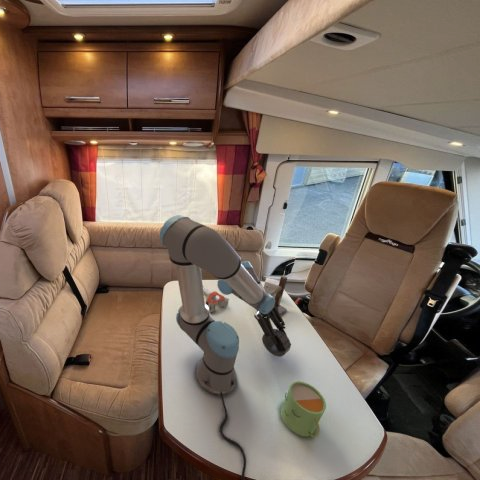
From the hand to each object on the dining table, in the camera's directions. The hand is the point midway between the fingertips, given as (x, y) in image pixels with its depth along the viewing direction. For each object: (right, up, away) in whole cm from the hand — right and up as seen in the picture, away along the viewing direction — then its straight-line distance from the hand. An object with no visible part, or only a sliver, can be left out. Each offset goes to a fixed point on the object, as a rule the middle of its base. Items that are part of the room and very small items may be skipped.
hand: (284, 347), depth 97 cm
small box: (+13, +11, +43) cm, 46 cm away
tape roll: (-2, -3, +5) cm, 6 cm away
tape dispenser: (-22, +12, +36) cm, 44 cm away
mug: (-5, -17, -19) cm, 26 cm away
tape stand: (+7, +5, +30) cm, 31 cm away
